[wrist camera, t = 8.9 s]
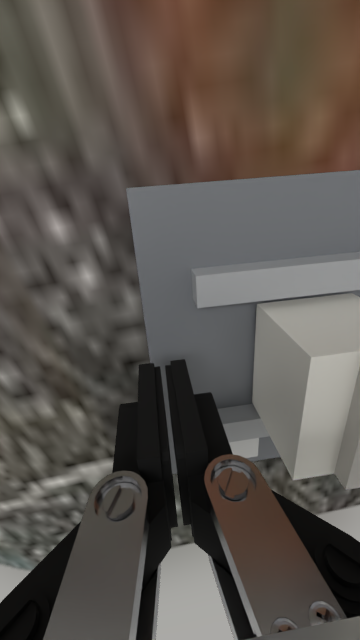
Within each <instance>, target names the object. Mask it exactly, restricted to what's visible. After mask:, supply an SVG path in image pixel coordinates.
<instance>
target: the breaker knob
mask: <svg viewBox="0 0 360 640" xmlns="http://www.w3.org/2000/svg"><path fill="white" fill-rule="evenodd" d="M252 403H253V405H254V407H255V408H256V410H257V412H258V414H259V416H260V418H261V420H262V422H263V424H264V426H265V428H266V430H267V431H268V433H269V435H270V437H271V439H272V441H273V443H274V445H275V447H276V449H277V451H278V453H279V455H280V456H281V458H282V460H283V462H284V464H285V466H286V468H287V470H288V472H289V474H290V476H291V478H292V480H299V479H305V478H311V477H317V476H323V475H328V474H335V475H336V477H337V478H338V480H339V481H340V483H341V484H342V486H343V487H344V489H345V490H348V489H354V488H360V297H359V296H357V295H354V294H352V293H348V294H339V295H330V296H321V297H313V298H304V299H295V300H286V301H278V302H269V303H260V304H257V310H256V331H255V352H254V373H253V395H252Z"/></svg>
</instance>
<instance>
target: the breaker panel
mask: <svg viewBox="0 0 360 640" xmlns="http://www.w3.org/2000/svg"><path fill="white" fill-rule="evenodd" d="M126 190H127V198H128V205H129V212H130V219H131V227H132V234H133V241H134V248H135V256H136V263H137V270H138V277H139V285H140V292H141V299H142V306H143V314H144V321H145V328H146V335H147V343H148V350H149V357H150V363H154V366H155V367H157V366H160V369H161V377H162V386H163V394H164V403H165V411H166V420H167V429H168V438H169V448H170V457H171V467H172V474H176V473H177V467H176V459H175V451H174V442H173V434H172V426H171V417H170V408H169V399H168V389H167V380H166V371H165V365H170V361H173V360H181V359H185V361H186V365H187V369H188V373H189V377H190V381H191V385H192V389H193V393H194V394H201V393H208V392H211V393H212V395H213V398H214V401H215V404H216V407H217V409H218V412H219V415H220V418H221V421H222V424H223V427H224V430H225V433H226V436H227V439H228V441H229V444H230V447H231V450H232V453H233V455H239V456H241V457H244V458H247V459H248V460H249V461H258V460H264V459H270V458H276V457H281V456H280V455H279V453H278V451H277V449H276V447H275V445H274V443H273V441H272V439H271V437H270V435H269V433H268V431H267V430H266V428H265V426H264V424H263V422H262V420H261V418H260V416H259V414H258V412H257V410H256V408H255V407H254V405H253V403H252V395H253V373H254V352H255V331H256V310H257V304H260V303H269V302H278V301H286V300H295V299H304V298H313V297H321V296H330V295H339V294H348V293H352V294H354V295H357V296H359V297H360V170H354V171H341V172H328V173H316V174H303V175H290V176H277V177H264V178H251V179H238V180H225V181H212V182H200V183H187V184H174V185H161V186H148V187H135V188H126Z"/></svg>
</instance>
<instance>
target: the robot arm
mask: <svg viewBox="0 0 360 640" xmlns="http://www.w3.org/2000/svg"><path fill="white" fill-rule="evenodd" d="M165 371H166V380H167V389H168V399H169V408H170V417H171V426H172V434H173V442H174V451H175V459H176V467H177V475H178V483H179V491H180V499H181V507H182V515H183V523H184V525H189V524H191V529H192V536H193V537H194V542H195V544H197V545H198V546H199V547H200V548H201V549H203V550H204V551H205V552H206V553H207V554H208V556H209V561H210V564H211V567H212V571H213V574H214V577H215V580H216V584H217V587H218V589H219V593H220V596H221V600H222V603H223V606H224V609H225V612H226V616H227V619H228V622H229V625H230V628H231V632H232V634H233V638H234V640H360V542H358V541H357V540H356V539H354V538H353V537H352V536H350V535H348V534H346V533H345V532H343V531H341V530H340V529H338V528H336V527H335V526H332V525H331V524H329V523H328V522H326V521H324V520H322V519H321V518H319V517H317V516H316V515H314V514H312V513H310V512H309V511H307V510H305V509H303V508H302V507H300V506H298V505H296V504H295V503H293V502H291V501H290V500H288V499H286V498H284V497H283V496H281V495H279V494H277V493H276V492H274V491H272V490H271V489H270V488H269V486H268V484H267V483H266V481H265V479H264V478H263V476H262V474H261V473H260V471H259V470H258V468H257V467H256V466H255V465H254V464H253V463H252V462H251V461H249V460H248V459H247V458H244V457H241V456H239V455H233V453H232V450H231V447H230V444H229V441H228V439H227V436H226V433H225V430H224V427H223V424H222V421H221V418H220V415H219V412H218V409H217V407H216V404H215V401H214V398H213V395H212V393H211V392H208V393H201V394H194V393H193V389H192V385H191V381H190V377H189V373H188V369H187V365H186V361H185V359H181V360H173V361H170V365H165ZM172 527H178V524H177V514H176V505H175V495H174V486H173V476H172V467H171V457H170V448H169V438H168V429H167V420H166V411H165V403H164V394H163V386H162V377H161V369H160V366H157V367H155V366H154V363H149V364H141V365H139V387H138V402H134V403H127V404H121V405H120V408H119V416H118V426H117V435H116V445H115V454H114V463H113V473H112V474H110V475H107V476H106V477H105V478H103V479H102V480H101V481H99V483H98V484H97V485H96V486H95V487H94V489H93V490H92V492H91V494H90V496H89V499H88V502H87V505H86V508H85V511H84V514H83V517H82V520H81V522H80V523H79V524H78V525H77V526H76V527H75V528H74V529H73V530H72V531H71V532H70V533H69V534H68V535H67V536H66V537H65V538H64V539H63V540H62V541H61V542H60V543H59V544H58V545H57V546H56V547H55V548H54V549H53V550H52V551H51V552H50V553H49V554H48V555H47V556H46V557H45V558H44V559H43V560H42V561H41V562H40V563H39V564H38V565H37V566H36V567H35V568H34V569H33V570H32V571H31V572H30V573H29V574H28V575H27V576H26V577H25V578H24V579H23V580H22V581H21V582H20V583H19V584H18V585H17V587H15V588H14V589H13V590H12V592H11V593H10V594H9V595H8V596H7V597H6V598H5V599H4V600H3V601H2V602H1V603H0V640H156V629H157V615H158V601H159V588H160V574H161V561H162V560H163V559H164V557H165V556H166V554H167V552H168V551H169V550H170V548H171V541H172V538H171V528H172Z"/></svg>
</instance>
